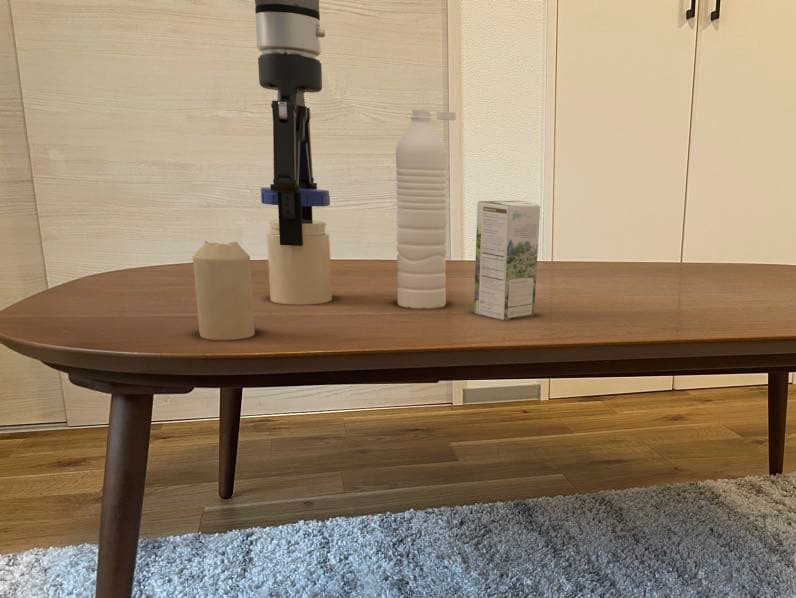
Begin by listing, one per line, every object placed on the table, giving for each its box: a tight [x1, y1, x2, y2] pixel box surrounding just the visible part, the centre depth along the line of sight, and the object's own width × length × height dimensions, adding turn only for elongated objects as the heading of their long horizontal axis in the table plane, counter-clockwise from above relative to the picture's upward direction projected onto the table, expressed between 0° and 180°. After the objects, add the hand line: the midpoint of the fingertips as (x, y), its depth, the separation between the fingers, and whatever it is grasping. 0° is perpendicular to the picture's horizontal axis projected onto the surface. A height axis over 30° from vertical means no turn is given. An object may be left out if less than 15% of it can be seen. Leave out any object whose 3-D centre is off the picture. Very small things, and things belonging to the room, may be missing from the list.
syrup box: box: [473, 200, 541, 321], centre depth 99 cm, size 6×6×14 cm
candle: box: [192, 240, 256, 341], centre depth 82 cm, size 6×6×10 cm
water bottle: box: [395, 109, 457, 310], centre depth 103 cm, size 9×6×25 cm
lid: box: [260, 186, 331, 207], centre depth 101 cm, size 8×8×2 cm
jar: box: [265, 219, 333, 305], centre depth 104 cm, size 8×8×10 cm
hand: (297, 241), depth 103 cm, fingers closed on lid, 8 cm apart
